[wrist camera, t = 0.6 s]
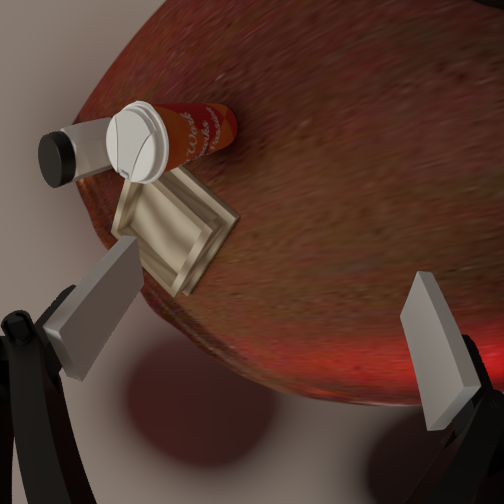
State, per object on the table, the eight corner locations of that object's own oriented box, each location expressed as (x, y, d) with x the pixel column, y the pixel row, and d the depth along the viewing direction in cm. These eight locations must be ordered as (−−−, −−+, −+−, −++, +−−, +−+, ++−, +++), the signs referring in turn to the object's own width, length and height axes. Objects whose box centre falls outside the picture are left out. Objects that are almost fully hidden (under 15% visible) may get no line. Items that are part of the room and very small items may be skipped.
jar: (117, 109, 44) (51, 123, 34) (133, 155, 46) (68, 177, 37) (91, 131, 49) (32, 148, 39) (105, 173, 51) (47, 195, 42)
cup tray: (152, 140, 43) (131, 145, 39) (240, 216, 41) (222, 227, 38) (124, 225, 54) (107, 233, 51) (190, 292, 52) (175, 305, 49)
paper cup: (234, 166, 38) (149, 202, 27) (187, 141, 40) (99, 167, 29) (255, 107, 33) (166, 118, 23) (202, 85, 35) (109, 93, 24)
